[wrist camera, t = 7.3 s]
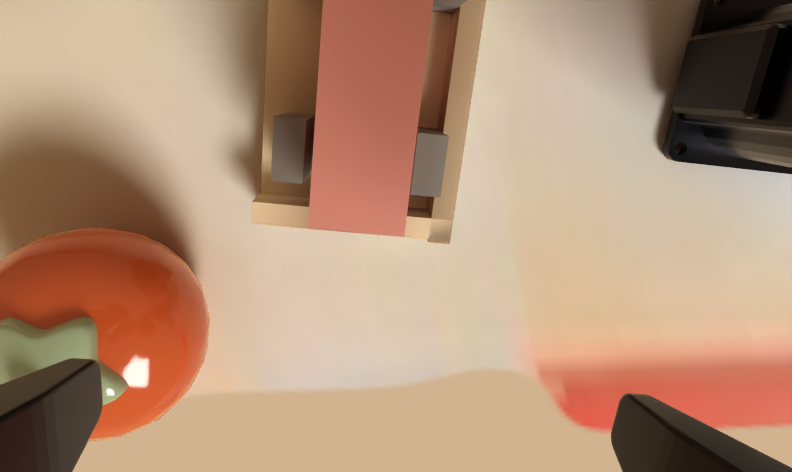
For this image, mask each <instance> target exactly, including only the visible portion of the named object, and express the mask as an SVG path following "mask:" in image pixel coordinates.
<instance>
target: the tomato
mask: <svg viewBox="0 0 792 472" xmlns="http://www.w3.org/2000/svg"><path fill="white" fill-rule="evenodd" d="M209 321H210V320H209V314H208V308H207V304H206V301H205V297H204V293H203V289H202V286H201V284H200V282H199V281H198V279H197V278H196V276H195V275H194V273H193V272H192V270H191V269H190V267H189V266H188V264H187V263H186V262H185V261H184V260H182V259H181V258H180V257H179V256H178V255H176V254H175V253H174V252H173V251H172V250H171V249H169V248H168V247H167V246H166V245H164V244H162V243H159V242H157V241H155V240H153V239H150V238H148V237H146V236H144V235H141V234H139V233H133V232H126V231H119V230H113V229H106V228H98V227H92V228H85V229H78V230H72V231H65V232H59V233H55V234H50V235H45V236H42V237H40V238H38V239H36V240H34V241H32V242H30V243H28V244H26V245H24V246H22V247H20V248H18V249H16V250H14V251H12V252H11V253H10V254H8V255H7V256H6V257H4V258H3V259H2V260H0V384H3V383H6V382H8V381H11V380H14V379H16V378H19V377H22V376H24V375H27V374H30V373H32V372H35V371H37V370H40V369H43V368H45V367H48V366H51V365H53V364H56V363H59V362H61V361H64V360H67V359H70V358H79V359H93V360H96V361H97V362H98V363H99V364H100V367H101V379H102V397H103V407H102V413H101V416H100V418H99V421H98V423H97V425H96V427H95V428H94V430H93V432H92V434H91V436H90V438H89V440H88V441H96V440H102V439H108V438H115V437H121V436H123V435H125V434H128V433H130V432H132V431H135V430H137V429H139V428H141V427H143V426H146V425H148V424H150V423H152V422H154V421H156V420H158V419H160V418H161V417H162V416H163V415H164V414H165V413H166V412H168V411H169V410H170V409H171V408H172V407H173V406H174V405H175V404H176V403H177V402H178V401H179V400H180V399H181V398H182V397H183V396H184V395H185V393H186V392H187V391H188V390H189V389H190V388H191V386H192V384H193V382H194V380H195V378H196V376H197V374H198V372H199V370H200V368H201V366H202V364H203V362H204V358H205V354H206V351H207V346H208V334H209Z"/></svg>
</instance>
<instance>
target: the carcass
mask: <svg viewBox="0 0 792 472" xmlns="http://www.w3.org/2000/svg"><path fill="white" fill-rule="evenodd" d="M485 3H486V0H433V8H432V16H431V24H430V32H429V40H428V48H427V56H426V65H425V73H424V81H423V89H422V97H421V105H420V113H419V121H418V129H417V138H416V146H415V154H414V162H413V170H412V178H411V186H410V194H409V202H408V211H407V219H406V227H405V235H404V237H407V238H418V239H427V240H428V242H433V243H445V244H450V238H451V231H452V224H453V218H454V211H455V204H456V197H457V191H458V184H459V177H460V171H461V164H462V157H463V151H464V144H465V137H466V130H467V124H468V117H469V110H470V104H471V97H472V90H473V83H474V77H475V70H476V63H477V57H478V50H479V43H480V37H481V30H482V23H483V16H484V10H485ZM322 9H323V0H268V15H267V41H266V67H265V94H264V120H263V146H262V173H261V193H260V194H259V195H258V196H257V197H256V199H255V200H254V201H253V202H252V224H262V225H273V226H284V227H296V228H307V229H314V228H308V218H309V203H310V188H311V173H312V158H313V143H314V128H315V114H316V99H317V84H318V69H319V54H320V39H321V24H322ZM318 230H325V229H318ZM329 231H336V230H329ZM340 232H347V231H340ZM351 233H358V232H351ZM362 234H369V233H362ZM373 235H380V234H373ZM385 236H391V235H385ZM396 237H402V236H396Z"/></svg>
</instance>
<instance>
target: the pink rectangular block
mask: <svg viewBox="0 0 792 472" xmlns="http://www.w3.org/2000/svg"><path fill="white" fill-rule="evenodd" d="M432 8H433V0H323V9H322V24H321V39H320V54H319V69H318V84H317V99H316V114H315V128H314V143H313V158H312V173H311V188H310V203H309V218H308V228H314V229H325V230H336V231H347V232H358V233H369V234H380V235H391V236H402V237H404V235H405V227H406V219H407V211H408V202H409V194H410V186H411V178H412V170H413V162H414V154H415V146H416V138H417V129H418V121H419V113H420V105H421V97H422V89H423V81H424V73H425V65H426V56H427V48H428V40H429V32H430V24H431V16H432Z"/></svg>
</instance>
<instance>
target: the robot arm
mask: <svg viewBox="0 0 792 472" xmlns="http://www.w3.org/2000/svg"><path fill="white" fill-rule="evenodd" d="M672 108H673V111H672V114H671V118H670V122H669V126H668V130H667V134H666V138H665V141H664V145H663V153H664V156H665V157H666V158H667V159H670V160H673V161H678V162H687V163H696V164H705V165H714V166H723V167H732V168H741V169H750V170H759V171H768V172H777V173H787V174H792V0H720V3H719V5H718V7H716V6H715V4H714V0H701V2H700V6H699V10H698V14H697V18H696V22H695V26H694V29H693V33H692V37H691V40H689V41H688V43H687V47H686V51H685V55H684V59H683V62H682V66H681V70H680V74H679V78H678V82H677V86H676V90H675V94H674V97H673V101H672ZM679 143H680V145H681V149H680V151H679V152H678V153H677V154H676V153H675V147H676V145H677V144H679ZM102 407H103V397H102V379H101V367H100V364H99V363H98V362H97V361H96V360H93V359H79V358H70V359H67V360H64V361H61V362H59V363H56V364H53V365H51V366H48V367H45V368H43V369H40V370H37V371H35V372H32V373H30V374H27V375H24V376H22V377H19V378H16V379H14V380H11V381H8V382H6V383H3V384H0V472H72V471H73V469H74V467H75V465H76V463H77V461H78V460H79V458H80V455H81V454H82V452H83V450H84V448H85V446H86V444H87V442H88V440H89V438H90V436H91V434H92V432H93V430H94V428H95V427H96V425H97V423H98V421H99V418H100V416H101V413H102ZM611 441H612V446H613V449H614V451H615V454H616V456H617V459H618V461H619V463H620V466H621V469H622V471H623V472H792V468H791V467H789V466H787V465H785V464H783V463H781V462H779V461H777V460H775V459H773V458H771V457H769V456H767V455H765V454H763V453H761V452H759V451H758V450H756V449H754V448H752V447H750V446H748V445H746V444H744V443H742V442H740V441H738V440H736V439H734V438H732V437H730V436H728V435H726V434H724V433H722V432H720V431H718V430H716V429H714V428H712V427H710V426H708V425H706V424H705V423H703V422H701V421H699V420H697V419H695V418H693V417H691V416H689V415H687V414H685V413H683V412H681V411H679V410H677V409H675V408H673V407H671V406H669V405H667V404H665V403H663V402H661V401H659V400H657V399H655V398H653V397H652V396H649V395H646V394H633V393H627V394H625V395H623V396H622V398H621V399H620V402H619V405H618V409H617V413H616V416H615V420H614V424H613V427H612V432H611Z"/></svg>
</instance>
